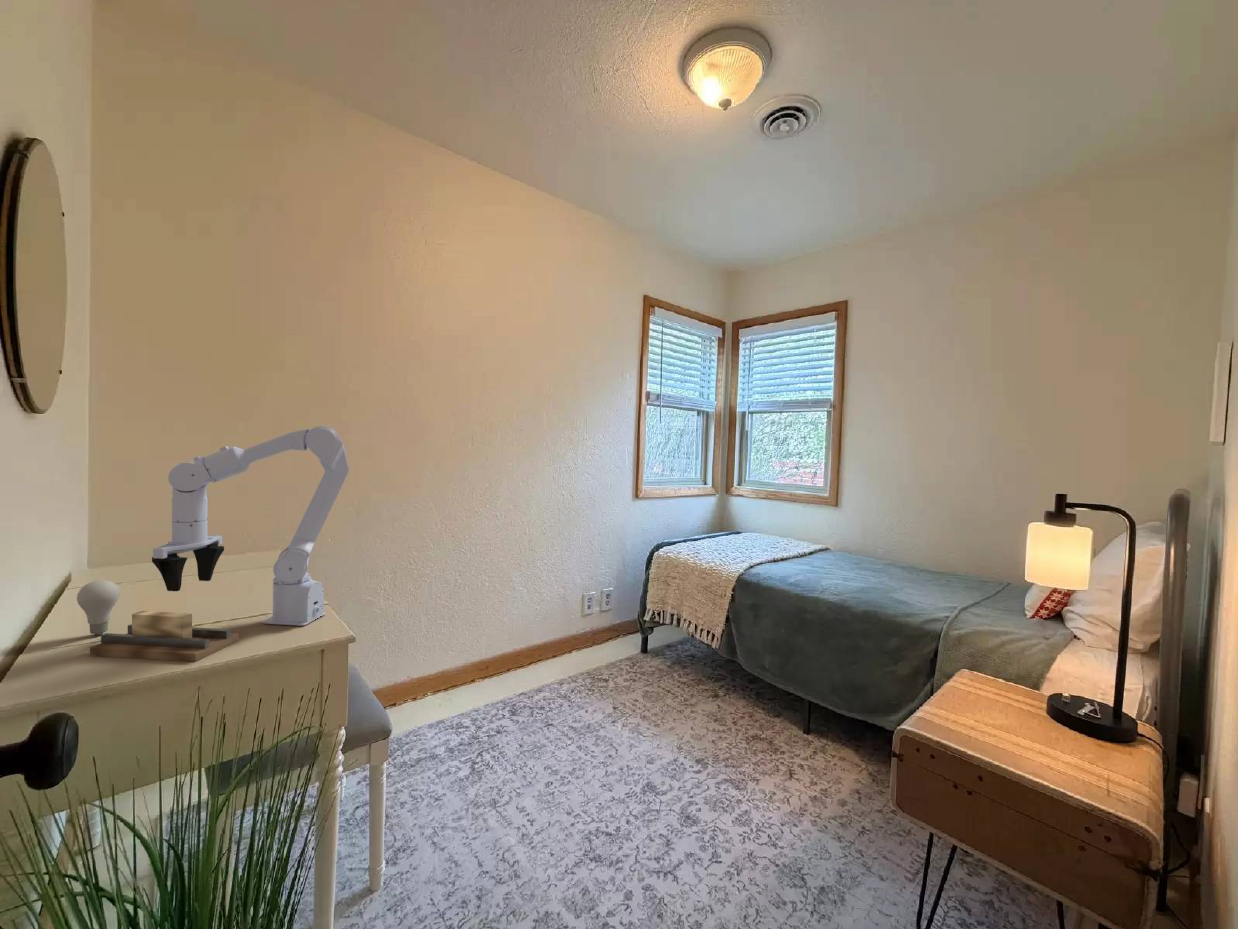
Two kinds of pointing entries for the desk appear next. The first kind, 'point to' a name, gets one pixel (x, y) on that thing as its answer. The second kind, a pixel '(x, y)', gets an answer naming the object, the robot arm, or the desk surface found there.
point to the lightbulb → (98, 603)
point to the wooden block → (162, 624)
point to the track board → (165, 645)
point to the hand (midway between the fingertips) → (189, 585)
